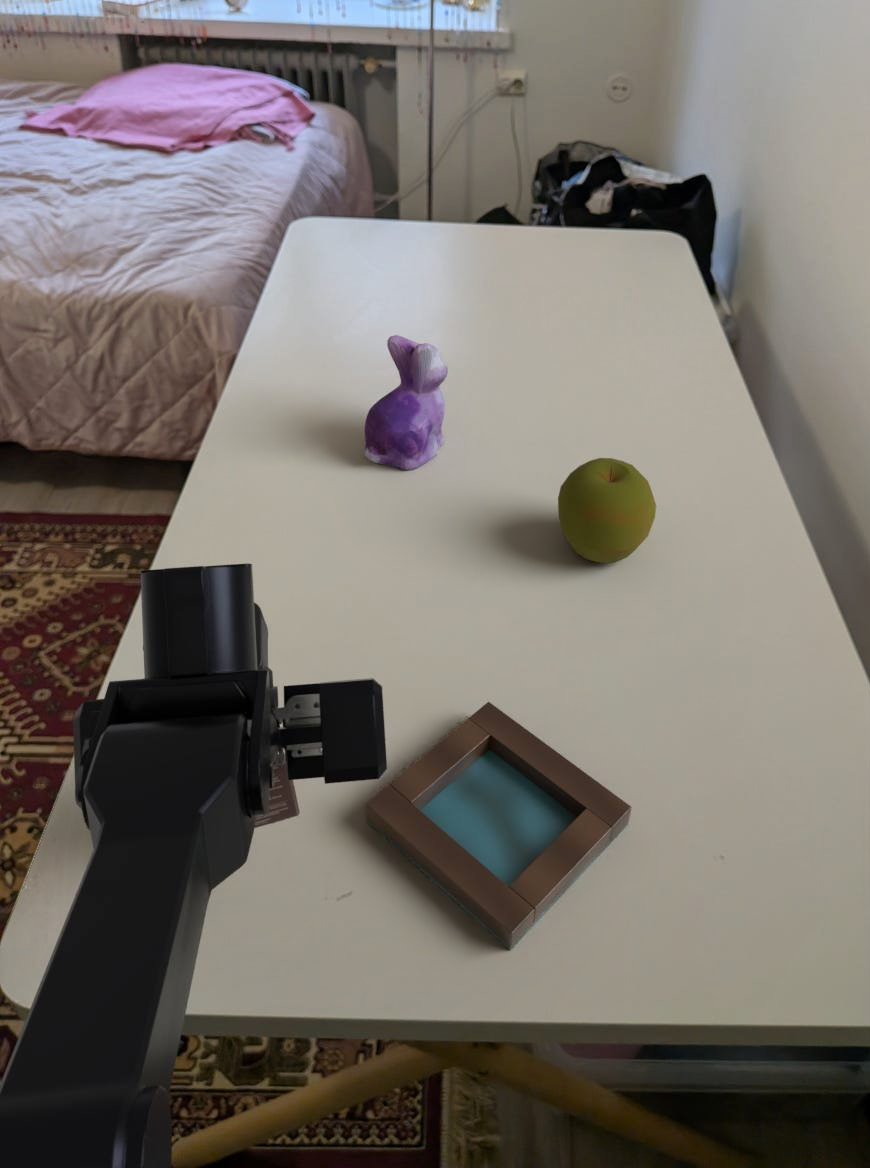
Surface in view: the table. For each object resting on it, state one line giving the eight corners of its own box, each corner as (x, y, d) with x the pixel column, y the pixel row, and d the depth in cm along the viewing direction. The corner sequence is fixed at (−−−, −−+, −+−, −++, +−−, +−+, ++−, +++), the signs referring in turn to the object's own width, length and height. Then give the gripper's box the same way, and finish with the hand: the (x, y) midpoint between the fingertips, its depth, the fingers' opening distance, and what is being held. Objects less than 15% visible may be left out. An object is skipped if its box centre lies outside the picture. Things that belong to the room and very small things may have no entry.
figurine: (448, 423, 118) (448, 313, 108) (445, 473, 110) (445, 358, 100) (371, 421, 118) (365, 310, 108) (363, 471, 110) (355, 356, 100)
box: (228, 770, 73) (201, 662, 65) (287, 755, 74) (267, 647, 67) (239, 836, 69) (212, 729, 61) (301, 819, 70) (282, 711, 62)
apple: (536, 533, 102) (543, 448, 95) (612, 508, 106) (624, 425, 99) (587, 591, 96) (599, 505, 89) (666, 562, 99) (683, 477, 92)
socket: (510, 951, 67) (511, 934, 66) (366, 821, 75) (365, 803, 73) (628, 824, 75) (632, 806, 74) (487, 719, 83) (488, 701, 81)
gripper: (376, 596, 55) (376, 603, 70) (34, 620, 52) (112, 621, 68) (388, 796, 53) (386, 758, 69) (40, 827, 51) (118, 781, 67)
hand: (252, 725), depth 68 cm, fingers closed on box, 5 cm apart
